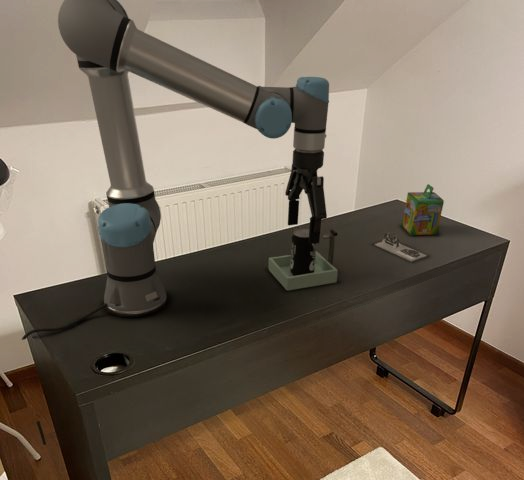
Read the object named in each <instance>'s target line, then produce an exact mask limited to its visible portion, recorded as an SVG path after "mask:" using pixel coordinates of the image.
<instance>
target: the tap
mask: <svg viewBox="0 0 524 480" xmlns="http://www.w3.org/2000/svg"><path fill="white" fill-rule="evenodd" d="M329 233H330V234H324V235H323V236H322V238H323V240H327V239H329V241H328V242H329V243H328V255H327V261H328V262H329V263H330V264H331V265H332V266H333V263H334V254H335V242H336V237H338V232H337V231H336V230H334V229H330V230H329Z"/></svg>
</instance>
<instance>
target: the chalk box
mask: <svg viewBox="0 0 524 480" xmlns="http://www.w3.org/2000/svg"><path fill="white" fill-rule="evenodd" d="M434 189H435V188H434V187H433V186H432V185H430V184H429V183H428V184H427V185H426V186H425V188H424V190H423V191H415V192H414V191H413V192H412V191H411V192H409V191H408V192H407V195H406V200H405V205H404V206H405V208H404V211H403V217H402V220H401V227H402V228H404V230H405V231H406V232H407V233H408V234H409V235H410V236H436V235H438V231H439V225H440V221H441V217H442V212H443V208H444V203H445V200H444V199H443V198H442V197H440V196H439V195H438V194H437V193H436V192H434ZM428 190H429V191H428Z"/></svg>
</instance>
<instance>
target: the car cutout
mask: <svg viewBox="0 0 524 480" xmlns="http://www.w3.org/2000/svg"><path fill="white" fill-rule="evenodd" d="M374 246H375V247H378V248H380V249H383V250H385V251H387V252H389V253H391V254H393V255H395V256H398V257H400V258H402V259H405V260H406V261H409V262H412V263H413V262H415V261H418V260H422V259H424V258H426V257H428V254H425V253H423V252H421V251H418V250H415V249H413V248H411V247H409V246H408V245H407V246H406V245H404V244H402V243H400V239H399V237H398V236H397V234H396V233H395V232H392V231H389V232H388V233H384V236H383V239H382V241H379V242H377V243H374Z"/></svg>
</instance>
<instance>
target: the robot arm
mask: <svg viewBox="0 0 524 480" xmlns="http://www.w3.org/2000/svg"><path fill="white" fill-rule="evenodd" d="M58 10H59V11H58V14H57V24H58V30H59V33H60V37H61V38H62V40H63V42H64V44H65V45H66V47H67V48H68V49H69V50H70V51H71V52H72V53H73V54H75V56H76V61H77V66H78V69H79V70H80V71H81V72H83V74H85V75H86V76H87V78H88V83H89V87H90V93H91V97H92V102H93V107H94V111H95V117H96V121H97V126H98V131H99V135H100V140H101V144H102V145H101V146H102V150H103V154H104V160H105V164H106V169H107V174H108V178H109V184H110V187H109V188H108V189H107V191H106V193H105V194H106V199H107V204H108V207H106V208H105V209H103V210H102V211H101V213H100V214H99V216H98V220H97V222H98V226H97V228H98V229H97V230H98V234H99V237H100V243H101V248H102V253H103V254H102V255H103V259H104V265H105V270H106V277H107V278H106V284H105V290H104V294H103V304H102V305H100V306H99V307H96V308H95V309H93V310H91V311H90V312H88V313H86V314H85V315H83V316H81V317H79V318H76V319H75V320H72V321H70V322H69V323H67V324H65V325H62V326H58V327H40V328H35V329H32V330H29V331H27V332H26V333H25V334H24V335H23V336H22V337H21V340H22V341H24V340H26V339H27V338H28V337H29V336H30V335H32V334H34V333H39V332H56V331H62V330H65V329H68V328H69V327H73V326H74V325H76V324H77V323H79V322H81V321H83V320H85V319H87V318H89V317H91V316H93V315H94V314H96V313H98V312H99V311H101V310H102V309H105V310H106V311H107V312H108V313H109V314H111V315H113V316H117V317H123V318H139V317H144V316H145V317H146V316H149V315H152V314H154V313H156V312H158V311H160V310H161V309H163V308H164V307H165V306H166V304H167V301H168V300H167V299H168V297H167V292H166V289H165V287H164V285H163V283H162V281H161V279H160V276H159V274H158V272H157V266H156V258H155V249H154V248H155V247H154V242H155V238H156V236H157V232H158V229H159V227H160V224H161V219H162V214H161V208H160V205H159V203H158V201H157V200H156V194H155V189H154V186H153V185H152V184H150V183H149V182H148V181H147V179H146V173H145V165H144V161H143V155H142V149H141V143H140V137H139V131H138V125H137V120H136V114H135V108H134V103H133V96H132V91H131V90H132V89H131V85H130V79H129V73H132V74H134V75H136V76H138V77H140V78H143V79H145V80H147V81H149V82H152V83H153V84H156V85H158V86H161V87H163V88H164V89H167V90H169V91H172V92H173V93H176V94H178V95H181V96H183V97H185V98H187V99H189V100H192V101H194V102H196V103H198V104H200V105H202V106H205V107H207V108H210V109H212V110H214V111H215V112H218V113H221V114H223V115H224V116H228V117H230V118H232V119H234V120H236V121H239V122H241V123H243V124H245V125H246V126H249V127H250V128H253V129H255V130H257V131H258V132H259V133H260V134H261V135H262V136H263V137H265V138H267V139H273V140H274V139H280V138H281V137H283V136H285V135H286V134H287V133H288V131H289V130H290V128H291V127H292V124H294V128H293V142H292V147H293V151H292V162H291V163H292V164H291V168H290V174H289V178H288V181H287V185H286V189H285V192H284V193H285V195H284V196H286V197H287V200H288V207H287V208H288V210H287V226H297V225H299V212H300V211H299V210H300V200H301V197H300V195H301V194H302V192H304V194H305V195H306V196H307V200H308V205H309V210H310V214H311V217H309V228H308V229H309V241H308V243H309V244H315V243H316V244H320V238H321V227H322V220H325V219H327V218H328V215H327V206H326V205H327V204H326V196H325V188H324V187H325V186H324V183H325V182H324V181H325V180H324V179H325V178H324V176H323V175H321V176H319V175H318V170H319V169H321V168H323V166H324V159H325V152H324V149H325V144H326V138H327V134H326V132H327V122H328V113H329V104H330V82H329V81H328V80H327V79H326V78H324V77H319V76H301V77H298V78H297V80H296V84H295V86H291V87H289V86H287V87H285V86H284V87H283V86H282V87H281V86H261V85H255V84H253V83H251V82H249V81H247V80H245V79H242V78H241V77H238V76H237V75H234V74H232V73H230V72H228V71H226V70H223V69H222V68H220V67H217V66H215V65H213V64H211V63H209V62H207V61H205V60H203V59H201V58H199V57H196V56H195V55H193V54H190V53H188V52H186V51H184V50H182V49H180V48H178V47H176V46H174V45H172V44H170V43H167V42H165V41H163V40H162V39H159V38H157V37H155V36H153V35H151V34H148V33H147V32H144V31H143V30H141V29H138V28H137V25H136V23H135V21H134V20H133V19H131V18H129V15H128V13H127V11H126V9H125V8H124V7H123V5H122V4H121V3H120V1H118V0H63V2H62V3H61V5H60V7H59V9H58ZM35 422H36V425H37V428H38V432H39V435H40V438H41V441H42V445H43V446H45V445H47V442H46V438H45V435H44V432H43V427H42V424H41V422H40V420H36V421H35Z"/></svg>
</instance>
